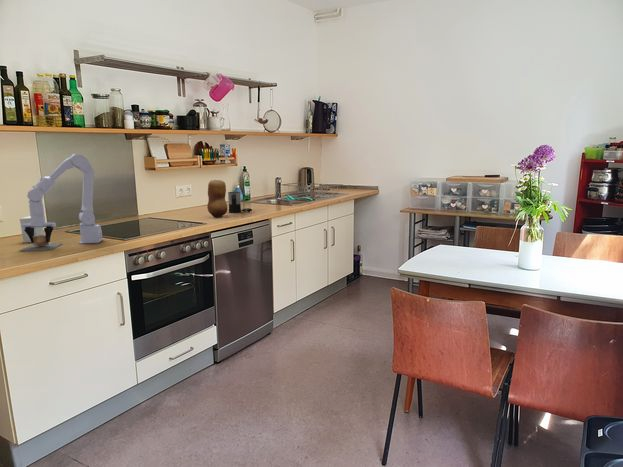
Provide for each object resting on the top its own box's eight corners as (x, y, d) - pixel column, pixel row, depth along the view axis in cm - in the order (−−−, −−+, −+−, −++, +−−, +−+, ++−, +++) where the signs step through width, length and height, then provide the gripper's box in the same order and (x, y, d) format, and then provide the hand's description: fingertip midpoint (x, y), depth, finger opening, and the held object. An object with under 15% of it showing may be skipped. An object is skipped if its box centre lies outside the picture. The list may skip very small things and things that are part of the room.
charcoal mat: (62, 244, 227) (62, 243, 227) (51, 250, 214) (51, 248, 214) (32, 245, 225) (32, 244, 225) (19, 251, 212) (19, 250, 212)
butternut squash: (229, 217, 305) (227, 180, 300) (209, 219, 300) (207, 181, 295) (225, 215, 317) (223, 179, 313) (206, 216, 312) (203, 179, 308)
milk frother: (227, 212, 334) (226, 191, 331) (248, 210, 340) (247, 190, 337) (232, 214, 321) (231, 193, 318) (253, 212, 327) (252, 192, 324)
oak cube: (48, 244, 220) (47, 235, 219) (39, 246, 216) (38, 237, 215) (42, 244, 222) (41, 234, 222) (33, 245, 218) (32, 236, 217)
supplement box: (45, 239, 240) (42, 215, 238) (37, 242, 233) (34, 217, 230) (30, 239, 240) (27, 216, 238) (22, 242, 233) (19, 218, 230)
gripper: (56, 212, 222) (60, 240, 224) (24, 213, 219) (28, 241, 222) (51, 214, 215) (54, 242, 217) (17, 215, 213) (21, 244, 215)
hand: (40, 242), depth 219 cm, fingers closed on oak cube, 6 cm apart
